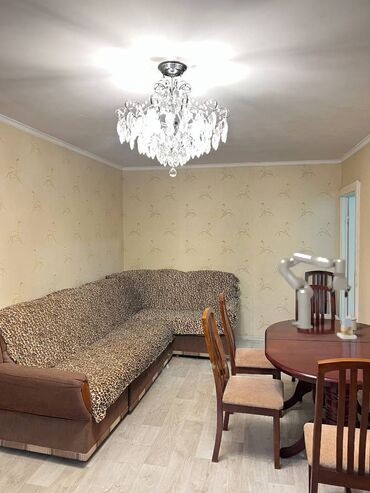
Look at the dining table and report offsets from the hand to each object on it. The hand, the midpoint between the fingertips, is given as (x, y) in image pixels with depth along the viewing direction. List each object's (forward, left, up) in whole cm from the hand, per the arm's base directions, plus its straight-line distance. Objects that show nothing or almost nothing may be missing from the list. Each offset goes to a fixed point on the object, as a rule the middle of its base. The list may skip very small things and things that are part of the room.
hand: (339, 297), depth 280 cm
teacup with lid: (+10, +8, -27) cm, 30 cm away
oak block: (-1, -15, -25) cm, 29 cm away
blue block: (-1, -15, -19) cm, 24 cm away
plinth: (-1, -15, -27) cm, 31 cm away
